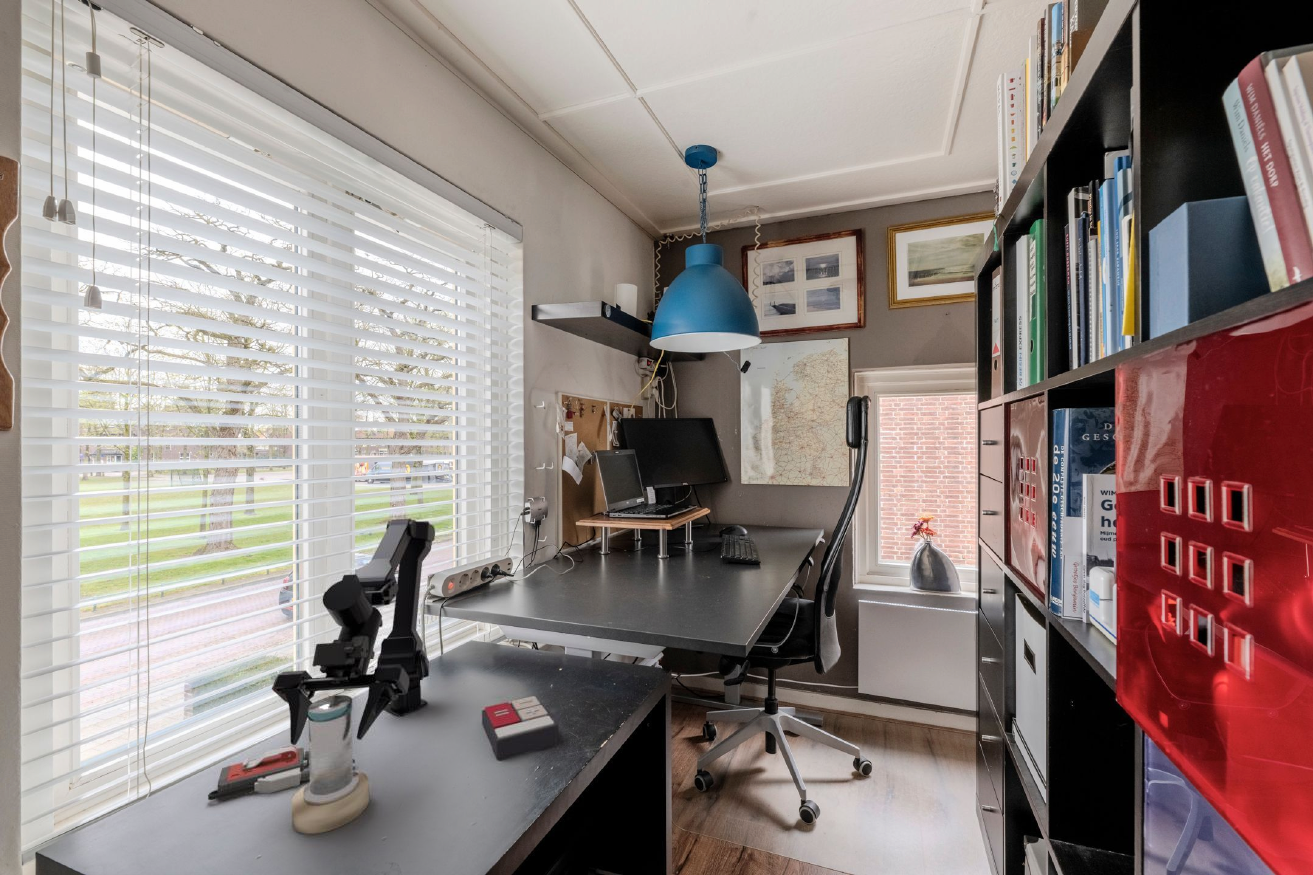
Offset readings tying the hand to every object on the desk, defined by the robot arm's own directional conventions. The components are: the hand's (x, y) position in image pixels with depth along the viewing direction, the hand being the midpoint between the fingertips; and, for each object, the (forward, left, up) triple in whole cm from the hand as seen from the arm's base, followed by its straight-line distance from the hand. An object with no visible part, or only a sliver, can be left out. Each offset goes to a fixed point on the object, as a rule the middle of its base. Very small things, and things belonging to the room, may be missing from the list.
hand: (326, 741), depth 82 cm
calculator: (+6, +32, -12) cm, 34 cm away
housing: (-1, +1, -8) cm, 8 cm away
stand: (-1, +1, -11) cm, 11 cm away
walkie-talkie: (-17, +1, -12) cm, 21 cm away
